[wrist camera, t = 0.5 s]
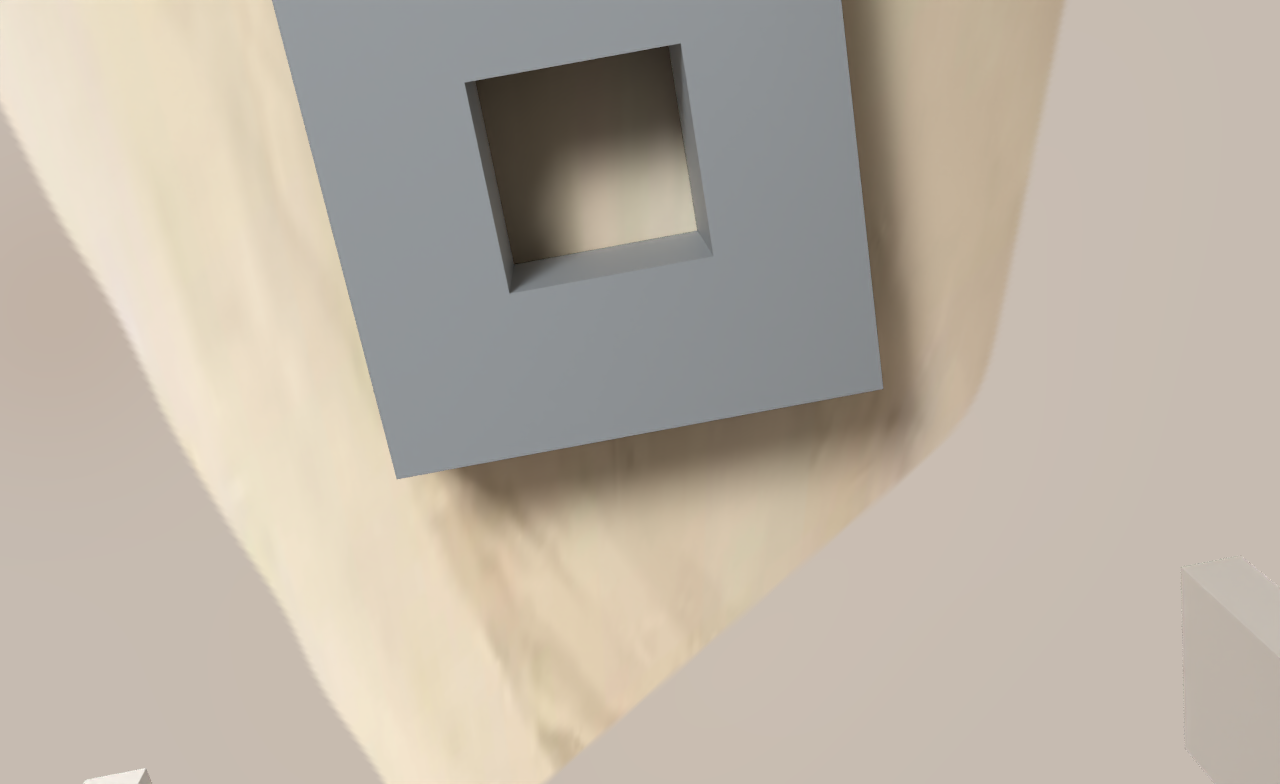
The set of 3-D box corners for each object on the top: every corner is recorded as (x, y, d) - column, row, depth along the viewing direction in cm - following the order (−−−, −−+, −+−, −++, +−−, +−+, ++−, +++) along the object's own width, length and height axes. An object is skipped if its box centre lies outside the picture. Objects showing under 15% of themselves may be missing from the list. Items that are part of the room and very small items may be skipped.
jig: (284, -74, 34) (250, -84, 30) (791, -165, 34) (820, -186, 30) (412, 433, 39) (397, 479, 35) (851, 351, 39) (883, 389, 35)
